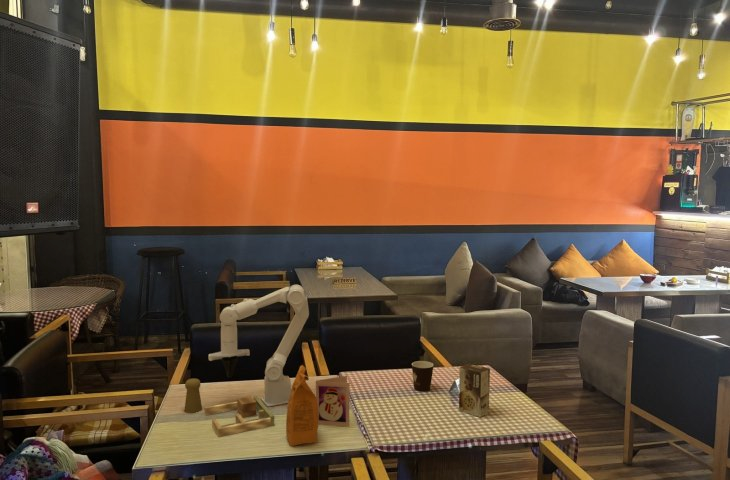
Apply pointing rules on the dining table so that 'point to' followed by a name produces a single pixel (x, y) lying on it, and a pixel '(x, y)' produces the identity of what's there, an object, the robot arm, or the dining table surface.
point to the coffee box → (474, 389)
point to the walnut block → (246, 407)
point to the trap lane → (240, 418)
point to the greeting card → (333, 401)
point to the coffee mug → (422, 375)
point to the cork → (193, 396)
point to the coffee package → (301, 412)
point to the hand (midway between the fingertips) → (229, 376)
